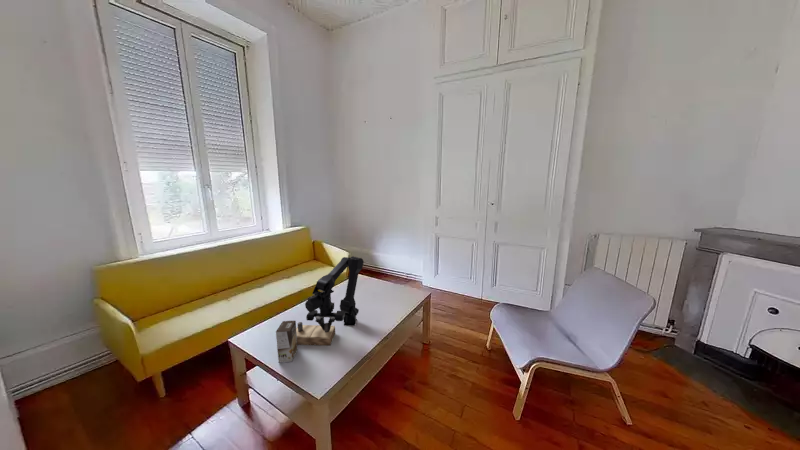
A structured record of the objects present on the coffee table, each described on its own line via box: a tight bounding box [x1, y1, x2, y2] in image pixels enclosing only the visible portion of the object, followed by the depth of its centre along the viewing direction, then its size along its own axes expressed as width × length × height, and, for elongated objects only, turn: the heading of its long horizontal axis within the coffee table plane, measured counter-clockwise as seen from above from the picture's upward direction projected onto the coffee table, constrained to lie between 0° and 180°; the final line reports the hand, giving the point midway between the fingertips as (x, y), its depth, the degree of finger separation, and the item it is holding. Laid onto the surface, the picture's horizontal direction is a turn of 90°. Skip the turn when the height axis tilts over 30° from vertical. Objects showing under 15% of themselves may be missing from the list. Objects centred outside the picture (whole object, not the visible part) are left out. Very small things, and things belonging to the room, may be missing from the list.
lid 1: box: [296, 321, 317, 338], centre depth 139 cm, size 10×10×5 cm
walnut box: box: [297, 327, 336, 347], centre depth 140 cm, size 20×10×4 cm, turn 89°
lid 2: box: [311, 322, 336, 339], centre depth 139 cm, size 10×10×5 cm
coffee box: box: [275, 320, 299, 363], centre depth 126 cm, size 9×6×16 cm
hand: (326, 330), depth 139 cm, fingers closed on lid 2, 2 cm apart
